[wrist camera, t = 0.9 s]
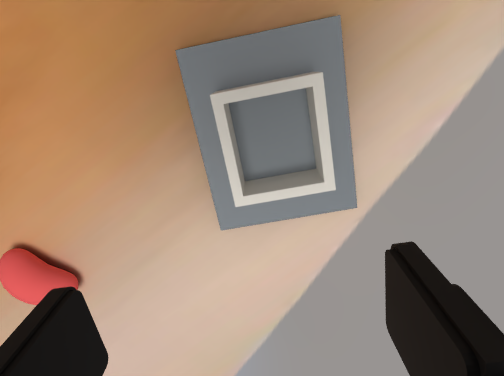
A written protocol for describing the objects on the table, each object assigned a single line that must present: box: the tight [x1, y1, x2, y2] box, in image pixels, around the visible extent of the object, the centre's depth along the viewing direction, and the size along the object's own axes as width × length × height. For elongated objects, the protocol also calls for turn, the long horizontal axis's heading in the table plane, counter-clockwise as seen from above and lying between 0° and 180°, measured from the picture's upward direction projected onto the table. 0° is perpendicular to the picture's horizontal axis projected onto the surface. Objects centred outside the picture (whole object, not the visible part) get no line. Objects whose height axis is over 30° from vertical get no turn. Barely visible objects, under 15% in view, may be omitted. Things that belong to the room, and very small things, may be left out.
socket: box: [175, 15, 357, 230], centre depth 33 cm, size 20×16×6 cm
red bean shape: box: [0, 248, 78, 305], centre depth 40 cm, size 5×9×6 cm
